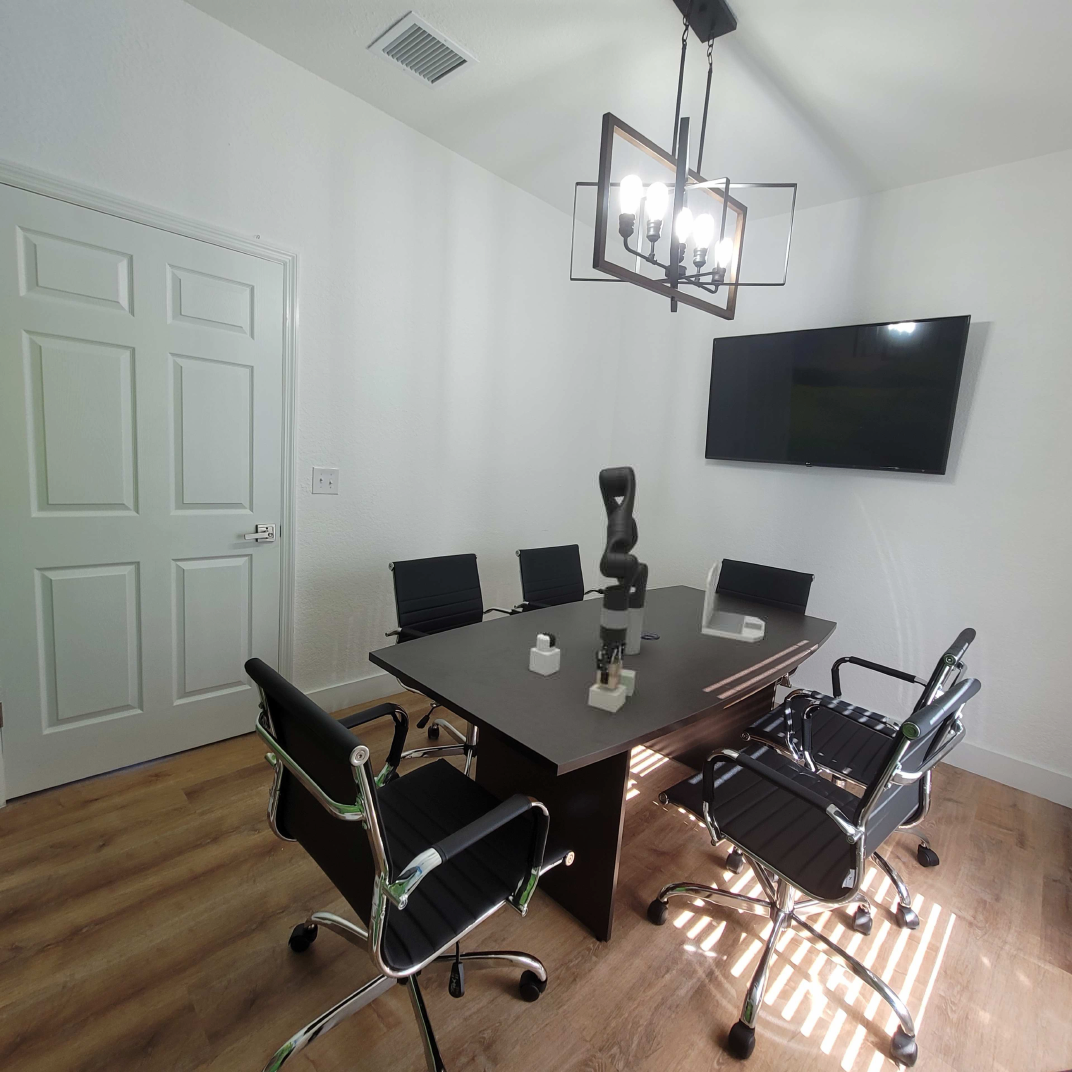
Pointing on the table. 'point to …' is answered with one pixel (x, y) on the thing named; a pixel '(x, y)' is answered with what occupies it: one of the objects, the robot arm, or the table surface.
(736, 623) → the laptop
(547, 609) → the table surface
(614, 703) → the cream base block
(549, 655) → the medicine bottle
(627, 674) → the sage block
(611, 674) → the maple block
